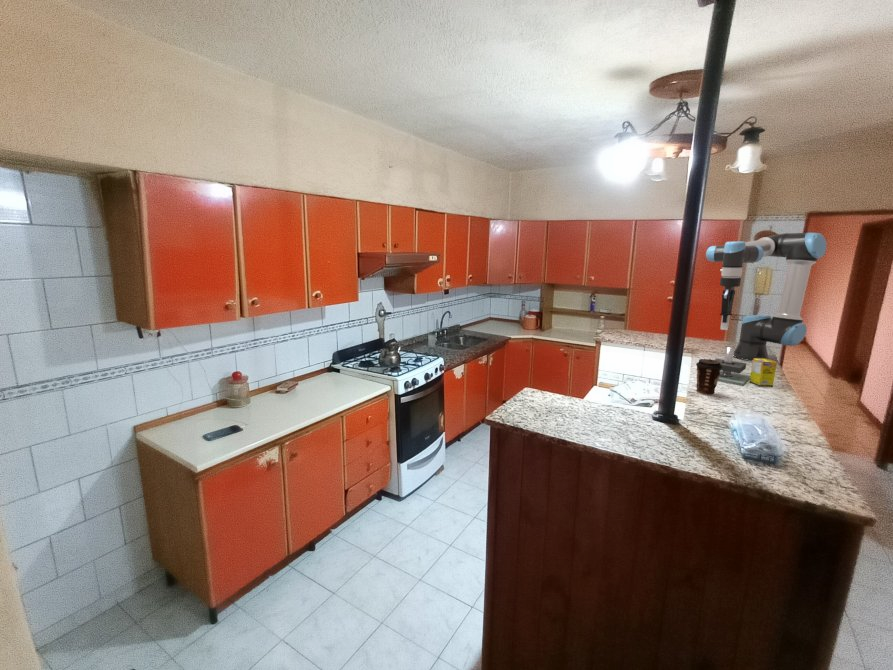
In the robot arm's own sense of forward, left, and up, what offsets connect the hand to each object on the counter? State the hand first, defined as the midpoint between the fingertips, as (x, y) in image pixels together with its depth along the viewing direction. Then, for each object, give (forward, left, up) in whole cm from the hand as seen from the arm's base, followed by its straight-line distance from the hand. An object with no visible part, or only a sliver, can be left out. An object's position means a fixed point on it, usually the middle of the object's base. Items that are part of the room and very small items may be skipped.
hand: (724, 329), depth 190 cm
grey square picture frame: (+6, +5, -16) cm, 18 cm away
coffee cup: (+35, +4, -21) cm, 41 cm away
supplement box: (+6, +17, -21) cm, 28 cm away
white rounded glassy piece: (+6, +5, -20) cm, 21 cm away
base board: (+6, +5, -21) cm, 22 cm away
